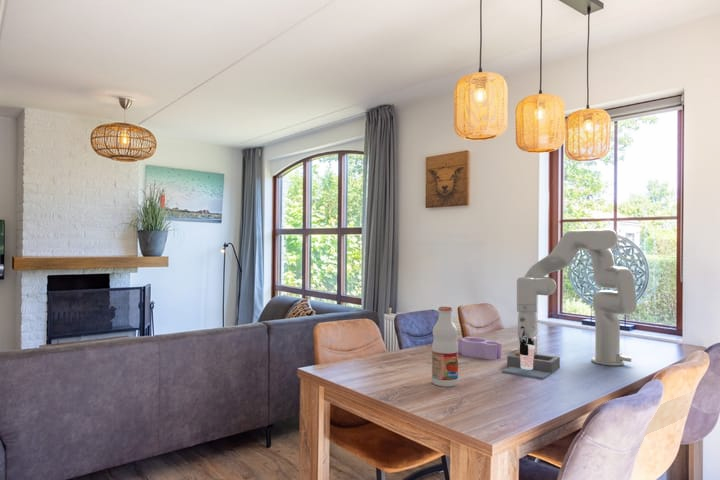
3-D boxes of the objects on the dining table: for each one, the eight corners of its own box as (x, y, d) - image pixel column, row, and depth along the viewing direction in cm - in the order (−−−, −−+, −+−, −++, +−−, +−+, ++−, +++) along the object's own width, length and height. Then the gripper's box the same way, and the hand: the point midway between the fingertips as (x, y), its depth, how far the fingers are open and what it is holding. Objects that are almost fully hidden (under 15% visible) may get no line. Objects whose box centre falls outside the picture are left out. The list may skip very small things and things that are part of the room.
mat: (550, 374, 186) (550, 372, 186) (543, 379, 179) (543, 377, 179) (510, 368, 196) (510, 366, 196) (502, 372, 189) (502, 370, 189)
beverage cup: (515, 367, 189) (515, 332, 189) (527, 365, 191) (527, 331, 191) (525, 370, 183) (525, 334, 184) (538, 369, 186) (538, 333, 186)
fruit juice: (437, 378, 179) (437, 305, 180) (461, 382, 175) (461, 306, 175) (428, 384, 171) (428, 307, 171) (453, 388, 166) (453, 309, 167)
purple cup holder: (506, 357, 216) (506, 342, 216) (491, 361, 207) (491, 346, 207) (469, 350, 231) (469, 336, 231) (454, 353, 222) (454, 339, 222)
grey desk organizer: (559, 367, 197) (559, 357, 197) (551, 373, 187) (551, 362, 187) (517, 361, 208) (517, 351, 208) (507, 366, 198) (507, 355, 198)
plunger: (526, 363, 201) (526, 351, 201) (523, 365, 198) (523, 353, 198) (517, 361, 203) (517, 350, 204) (514, 363, 200) (514, 351, 200)
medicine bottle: (537, 353, 224) (537, 328, 224) (522, 353, 224) (522, 327, 224) (532, 350, 231) (532, 325, 231) (517, 349, 231) (517, 325, 231)
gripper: (529, 311, 179) (529, 358, 178) (542, 306, 192) (543, 350, 192) (509, 309, 183) (509, 356, 183) (524, 305, 197) (524, 348, 197)
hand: (526, 352), depth 187 cm, fingers closed on beverage cup, 6 cm apart
